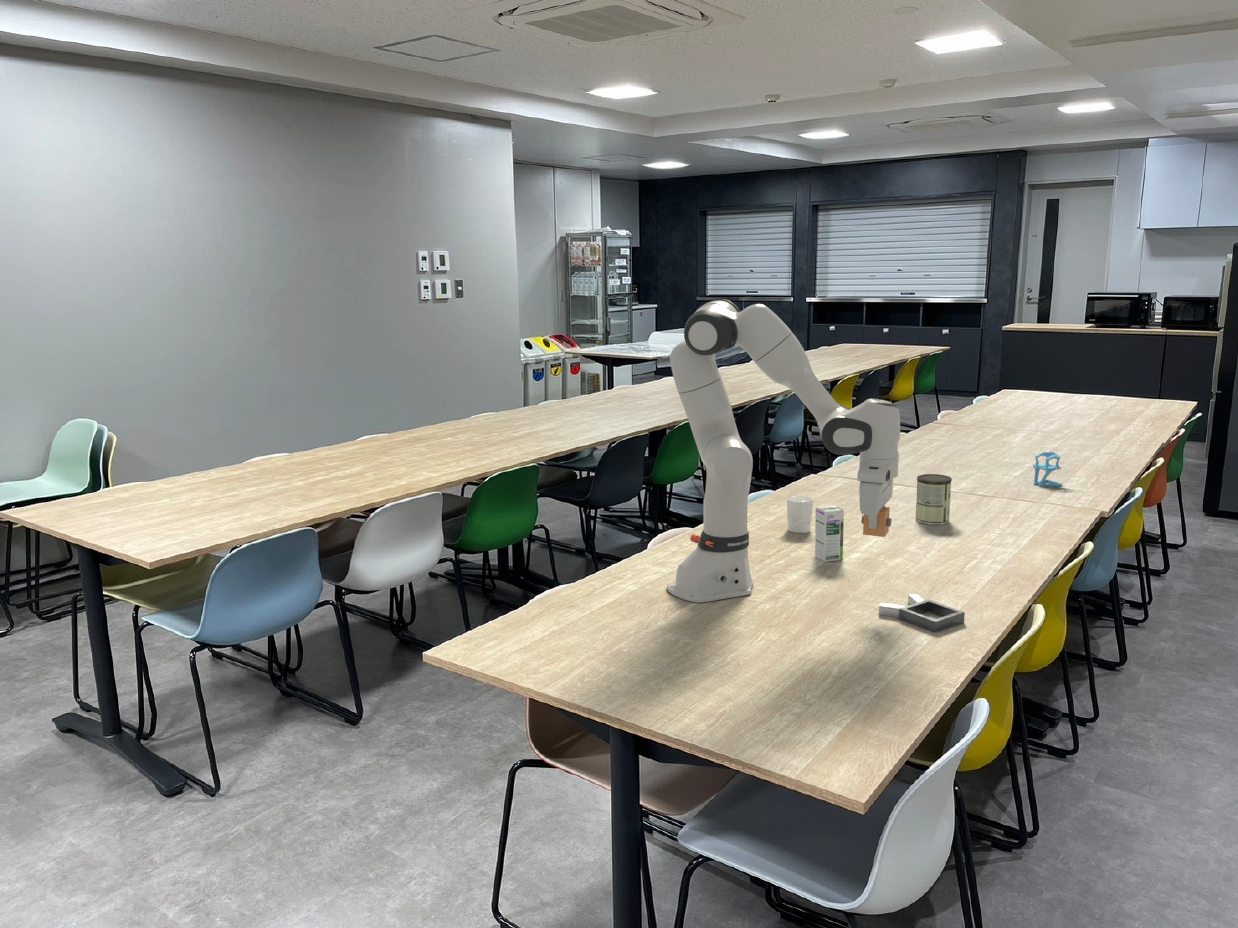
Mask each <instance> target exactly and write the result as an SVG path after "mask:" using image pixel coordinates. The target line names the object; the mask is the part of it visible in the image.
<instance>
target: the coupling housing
mask: <svg viewBox="0 0 1238 928" xmlns="http://www.w3.org/2000/svg"><path fill="white" fill-rule="evenodd" d="M907 603H908V605H902V604H901V605H900V604H894V603H887V602H880V603H879V605H878V615H881V616H886V617H893V618H898V620H901V621H903V622H906V623H909V624H912V625H914V626H917V627H920V628H922V629H925V630H927V631H929V632H932V633H938V632H940V631H944V630H947V629H950V628H952V627H956V626H958V625H960V624H964V623H965V611H963V610H959V609H956V608H954V607H951V606H949V605H947V604H946V605H945V604H942V603H939V602H936V601H933V600H931V599H924V598H922V596H920V594H918V593H908V597H907ZM925 613H931V614H934V615H937V616H939V617H938V618H935V619H934V618H932V617H929V616H926V615H923V614H925Z"/></svg>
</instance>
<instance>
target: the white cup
mask: <svg viewBox="0 0 1238 928" xmlns="http://www.w3.org/2000/svg"><path fill="white" fill-rule="evenodd" d="M813 504H814V498H812V497H809V496H804V495H793V496H788V497H786V510H787V511H786V512H787V513H786V515H787V516H786V519H787V531H789V532H791V533H793V534H794V533H795V534H807V533H809V532H811V525H812V524H811V523H812V517H813V516H812V515H813Z"/></svg>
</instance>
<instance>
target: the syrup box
mask: <svg viewBox="0 0 1238 928" xmlns="http://www.w3.org/2000/svg"><path fill="white" fill-rule="evenodd" d="M844 514H845V511H844V509H843V508H841V507H840V506H838V505H830V506H828V505H827V506H819V507H818V506H816V507H815V520H814V521H815V526H814V527H815V529H814V530H815V534H814V535H815V536H814V539H815V540H814V544H815V545H814V556H815V558H817V559H819V560H820V561H822V562H823V563H827V562H835V561H843V560H844V557H843V556H844V520H845V519H844V517H845V515H844Z"/></svg>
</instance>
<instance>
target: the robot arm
mask: <svg viewBox="0 0 1238 928" xmlns="http://www.w3.org/2000/svg"><path fill="white" fill-rule="evenodd" d="M683 336H684V337H683V338H684V339H683V340H684V341H682V342H679V343H678V344H677V345H675V346H674V347H673V348H672V350H671V352H670V355H669V361H670V367H671V371H672V372H671V373H672V376H673V380H674V381H673V382H674V384H675V387H676V391H677V392H678V395H679V398H680V401H681V403H682V407H683V409H684V411H685V414H686V417H687V420H688V423H689V426H690V430H691V432H692V435H693V439H694V441H695V444H696V447H697V450H698V453H699V456H700V460H701V462H702V463H703V465H704V467H705V470H706V481H705V491H704V498H703V523H702V524H703V527H702V528H703V529H702V531H701V534H700V536H699V535H697V534H695V533H693V534H691V535H690V538H689V540H690V542H691V543H695V544H697V547H696V548H695V549H694V550H693V551H691V553H690V554H689V555H688V556H687V557H686V558H685V559H684V560H683V561H682V562H681V563H679V565H678V566H677V570H676V576H675V581H672V582H670V583H667V584H666V590H667V591H668V593H670V594H671V595H673V596H675V597H677V598H680V599H682V600H685V601H687V602H691V603H698V604H699V603H707V602H708V603H709V602H713V601H719V600H724V599H729V598H730V599H732V598H736V597H737V598H738V597H743V596H748V595H751V594H752V588H753V586H754V582H753V579H752V575H751V569H750V562H749V552H748V547H749V545H750V532H749V531H748V505H749V493H750V488H751V481H752V474H753V473H752V472H753V467H754V465H753V464H754V462H753V461H754V460H753V455H752V451H751V450H750V449H749V448H748V445H746V444H745V443H744V442H743V441H742V439H741V437H740V434H739V431H738V428H737V427H738V426H737V424H736V419H735V417H734V413H733V409H732V408H733V407H732V405H731V402H730V399H729V396H728V393H727V390H726V387H725V385H724V382H723V379H722V377H721V374H720V371H719V368H718V365H717V362H716V354H719V353H722V352H723V351H726V350H729V349H732V348H734V347H735V346H738V347H740V348H742V349H743V350H744V351H745V352H746V353H747V355H749V357H750V358H751V359H752V361H753V362H754V363H755V365H756V366H757V367H758V369H760V371H762V372H763V373H764V374H765V376H767V377H768V378H769V379H770V380H771V381H773V382H774V383H776V384H778V385H781V386H784V387H786V388H788V389H789V390H791V391H792V392H793V393H794V394H795V395H796V396H797V397H798V398H799V400H800V401H801V402H802V404H804V406H805V407H806V408H807V409H808V411H809V412H810V413H811V414H812V415H813V417H814V419H815V421H816V426H817V428H818V432H819V435H820V439H821V443H822V444H823V446H824V448H826V449H827V450H828V451H829V452H830V453H832V454H834V455H838V456H844V455H852V454H858V453H859V464H858V471H857V475H856V477H857V478H856V481H857V482H859V486H858V487H859V489H858V490H859V491H858V493H859V510H860V513H861V514H862V515H868V519H869V528H871V529H876V528H877V526H878V520H877V515H878V512H879V511H880V510H881V509H882V508H883V507H886V504H887V503H888V502H889V501H890V499H892V497H893V492H894V487H893V486H894V484H893V483H894V479H895V478H897V477H898V476H899V463H900V461H899V459H900V453H899V450H898V449H899V448H898V446H899V442H900V439H901V415H900V411H899V408H898V407H897V405H895V404H894V403H893V402H891V401H888V400H884V399H879V398H868V399H866V400H864V402H861V403H860V404H858V405H857V406H854V407H853V408H849V407H847V406H845V405H843V404H841V403H840V402H838V401H837V400H836V399H834V397H833V396H832V395H831V394H830V392H829V391H828V390H827V389H826V387H825V386H824V385H823V384H822V383H821V381H820V380H819V378H817V376H816V375H815V373H814V371H813V369H812V367H811V364H810V360H809V358H808V355H807V353H806V351H805V350H804V347H803V345H802V344H801V343H800V341H799V339H798V338H797V336H796V335H795V334H794V333H793V332H792V330H791V329H790V328H789V327H788V325H787V324H786V323H785V322H784V321H783V320H782V319H781V318H780V317H779V316H778V315H777V314H776V313H775V312H774V311H773V310H772V309H770V307H768V306H766V305H765V304H762V303H755V304H751V305H749V306H747V307H745V308H744V309H743V310H741V311H740V310H739V308H738V306H737V305H736V304H734V303H733V302H732V301H730V300H728V299H724V298H716V299H713V300H710V301H708V302H706V303H705V304H703V305H701V306H700V307H698V308H697V309H696V311H695V312H694V313H693V314H692V315H690V316H689V317H688V319H687V320H686V323H685V324H684V329H683Z"/></svg>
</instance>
